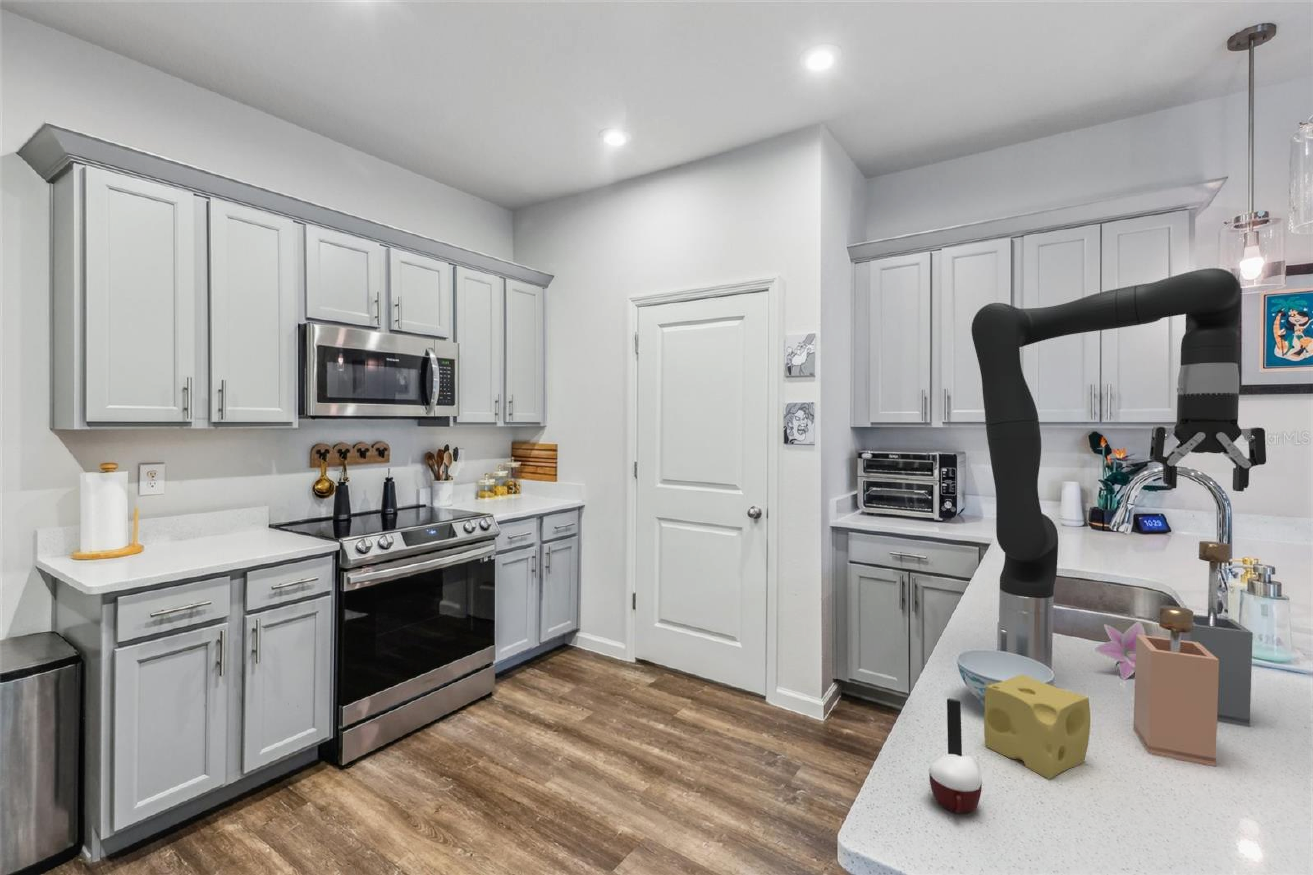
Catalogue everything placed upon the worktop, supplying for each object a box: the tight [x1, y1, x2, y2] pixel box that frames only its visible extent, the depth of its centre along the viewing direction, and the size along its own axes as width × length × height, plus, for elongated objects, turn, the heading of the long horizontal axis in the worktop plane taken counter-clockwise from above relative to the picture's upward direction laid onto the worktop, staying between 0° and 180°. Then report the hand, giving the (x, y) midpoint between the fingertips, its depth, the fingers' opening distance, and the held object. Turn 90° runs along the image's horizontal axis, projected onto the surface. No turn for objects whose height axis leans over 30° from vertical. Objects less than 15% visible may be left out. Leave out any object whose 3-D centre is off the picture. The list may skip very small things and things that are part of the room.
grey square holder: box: [1180, 614, 1253, 728], centre depth 106 cm, size 8×8×16 cm
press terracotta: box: [1133, 634, 1219, 767], centre depth 94 cm, size 8×8×16 cm
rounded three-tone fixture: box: [928, 697, 983, 814], centre depth 80 cm, size 10×6×12 cm, turn 136°
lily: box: [1094, 621, 1146, 680], centre depth 123 cm, size 12×12×10 cm
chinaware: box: [956, 648, 1055, 709], centre depth 107 cm, size 15×15×8 cm
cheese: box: [983, 675, 1091, 780], centre depth 92 cm, size 10×11×10 cm
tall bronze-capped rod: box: [1198, 540, 1231, 627], centre depth 106 cm, size 5×5×16 cm
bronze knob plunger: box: [1158, 604, 1194, 653], centre depth 94 cm, size 5×5×16 cm
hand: (1204, 489), depth 100 cm, fingers open, 8 cm apart
